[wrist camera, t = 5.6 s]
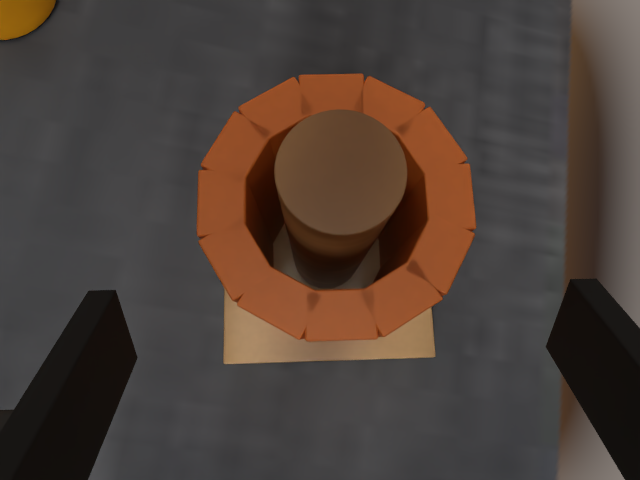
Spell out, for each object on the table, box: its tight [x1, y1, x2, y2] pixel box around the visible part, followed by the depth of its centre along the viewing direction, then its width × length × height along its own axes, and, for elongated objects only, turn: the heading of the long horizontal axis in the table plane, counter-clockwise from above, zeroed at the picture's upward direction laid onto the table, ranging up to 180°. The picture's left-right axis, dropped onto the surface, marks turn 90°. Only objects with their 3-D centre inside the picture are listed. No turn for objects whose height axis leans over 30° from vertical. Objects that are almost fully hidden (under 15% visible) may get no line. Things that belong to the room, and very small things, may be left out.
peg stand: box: [223, 109, 435, 364], centre depth 17 cm, size 10×10×13 cm
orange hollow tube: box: [197, 74, 476, 342], centre depth 18 cm, size 8×8×10 cm
